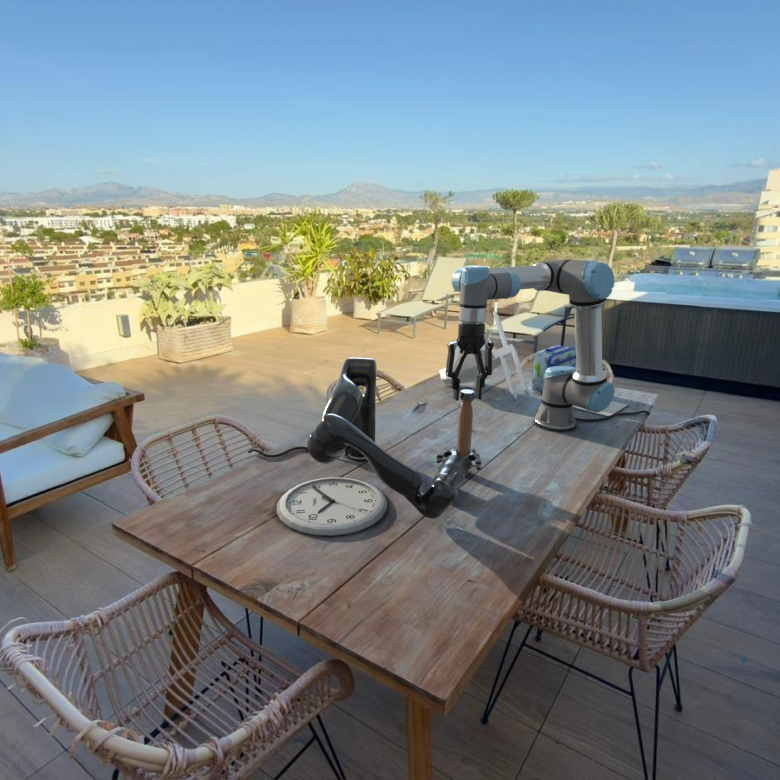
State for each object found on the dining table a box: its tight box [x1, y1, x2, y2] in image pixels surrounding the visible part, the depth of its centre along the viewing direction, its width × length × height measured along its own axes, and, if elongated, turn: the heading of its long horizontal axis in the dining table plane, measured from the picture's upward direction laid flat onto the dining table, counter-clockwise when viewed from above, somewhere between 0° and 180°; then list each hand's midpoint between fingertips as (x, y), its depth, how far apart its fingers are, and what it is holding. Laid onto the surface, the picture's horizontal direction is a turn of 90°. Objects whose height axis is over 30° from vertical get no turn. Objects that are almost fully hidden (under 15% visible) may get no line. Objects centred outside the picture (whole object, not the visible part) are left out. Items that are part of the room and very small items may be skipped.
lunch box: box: [531, 345, 576, 394], centre depth 245 cm, size 26×11×21 cm, turn 134°
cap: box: [459, 389, 475, 402], centre depth 155 cm, size 4×4×2 cm
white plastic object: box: [438, 310, 531, 400], centre depth 245 cm, size 37×45×31 cm
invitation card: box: [573, 400, 629, 417], centre depth 226 cm, size 21×1×15 cm
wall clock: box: [276, 476, 388, 537], centre depth 142 cm, size 30×2×30 cm
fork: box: [413, 396, 428, 412], centre depth 222 cm, size 3×16×2 cm, turn 160°
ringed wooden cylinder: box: [456, 400, 474, 476], centre depth 159 cm, size 4×4×26 cm
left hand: (465, 449), depth 163 cm, fingers closed on ringed wooden cylinder, 4 cm apart
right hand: (467, 398), depth 156 cm, fingers open, 6 cm apart
